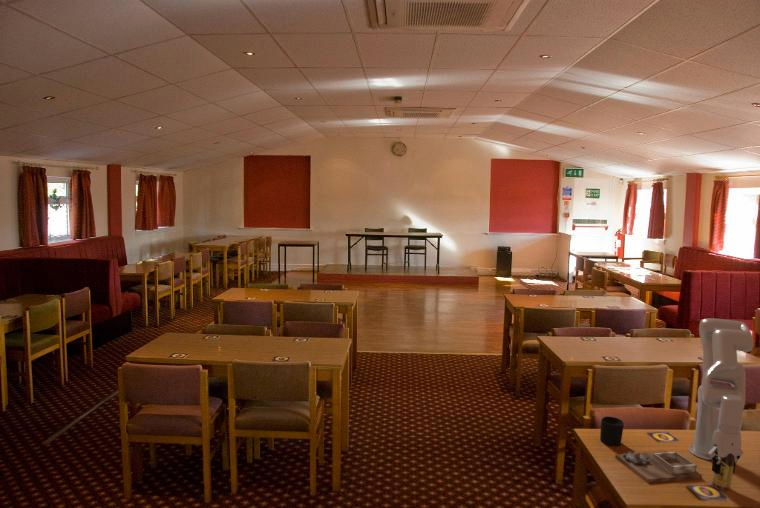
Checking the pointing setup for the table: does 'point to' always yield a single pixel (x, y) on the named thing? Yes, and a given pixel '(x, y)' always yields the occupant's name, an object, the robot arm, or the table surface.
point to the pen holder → (611, 431)
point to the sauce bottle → (724, 473)
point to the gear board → (659, 466)
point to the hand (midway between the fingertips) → (723, 471)
